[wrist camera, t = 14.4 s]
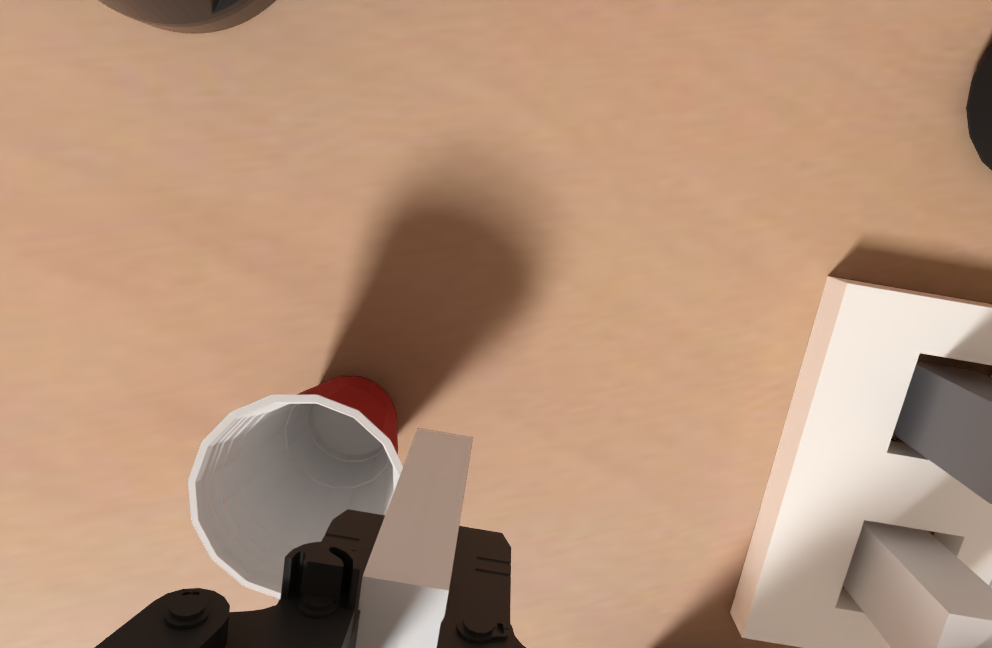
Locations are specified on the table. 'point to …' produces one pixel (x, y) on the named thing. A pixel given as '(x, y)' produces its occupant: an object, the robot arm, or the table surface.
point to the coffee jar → (981, 109)
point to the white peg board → (869, 490)
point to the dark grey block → (951, 422)
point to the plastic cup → (292, 474)
